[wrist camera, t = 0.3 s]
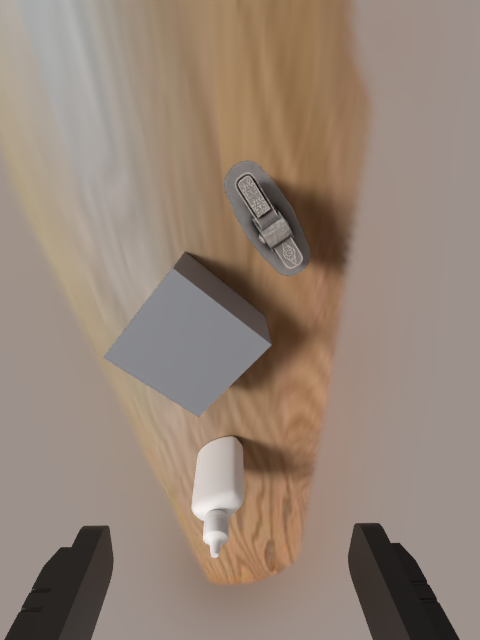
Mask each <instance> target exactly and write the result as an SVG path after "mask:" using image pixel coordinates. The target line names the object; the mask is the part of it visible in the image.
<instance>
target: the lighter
mask: <svg viewBox="0 0 480 640" xmlns="http://www.w3.org/2000/svg"><path fill="white" fill-rule="evenodd" d="M224 189H225V193H226V195H227V198H228V200H229V202H230V205H231V207H232V209H233V212H234V214H235V216H236V218H237V220H238V222H239V223H240V225H241V227H242V229H243V230H244V232H245V234H246V236H247V237H248V239H249V240H250V241H251V243H252V244H253V245H254V246H255V248H256V249H257V250H258V252H259V253H260V254H261V255H262V257H263V258H264V259H265V260H266V261H267V262H268V263H269V264H270V265H271V266H272V267H273V268H274V269H275V270H276V271H277V272H279V273H280V274H282V275H286V276H291V275H295V274H298V273H300V272H301V271H302V270H303V269H305V268H306V266H307V265H308V263H309V261H310V257H311V254H310V249H309V246H308V243H307V240H306V237H305V234H304V231H303V229H302V227H301V225H300V223H299V221H298V219H297V216H296V214H295V212H294V210H293V208H292V206H291V205H290V203H289V202H288V201H287V199H286V198H285V196H284V195H283V193H282V192H281V190H280V189H279V187H278V186H277V185H276V184H275V182H274V181H273V180H272V179H271V178H270V177H269V176H268V175H267V173H266V172H265V171H264V170H263V169H262V168H261V167H260V166H259V165H258V164H256V163H255V162H252V161H242V162H239V163H237V164H235V165H234V166H233V167H232V168H231V169H230V170H229V171H228V173H227V175H226V177H225V181H224Z"/></svg>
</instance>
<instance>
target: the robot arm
mask: <svg viewBox="0 0 480 640" xmlns="http://www.w3.org/2000/svg"><path fill="white" fill-rule="evenodd" d="M348 564H349V570H350V574H351V578H352V581H353V584H354V587H355V590H356V592H357V595H358V598H359V601H360V604H361V607H362V610H363V613H364V615H365V618H366V621H367V624H368V627H369V630H370V633H371V636H372V638H373V640H459V638H458V636H457V634H456V632H455V630H454V629H453V627H452V625H451V623H450V622H449V620H448V618H447V616H446V614H445V612H444V611H443V609H442V607H441V605H440V603H438V602H437V598H436V596H435V594H434V593H433V591H432V589H431V588H430V585H428V584H427V580H426V578H425V577H424V575H423V573H422V571H421V569H420V568H419V566H418V564H417V562H416V560H415V559H414V558H413V557H412V556H411V555H410V554H409V553H408V552H407V551H406V550H405V548H403V546H402V545H401V544H400V543H390V541H389V539H388V537H387V535H386V533H385V531H384V529H383V528H382V526H381V525H380V524H379V523H356V524H355V525H354V529H353V534H352V538H351V543H350V548H349V553H348ZM112 570H113V551H112V543H111V537H110V529H109V526H83V527H82V528H81V529H80V531H79V533H78V535H77V537H76V539H75V541H74V543H73V545H72V547H61V548H60V549H59V550H58V551H57V552H56V553H55V554H54V555H53V557H52V558H51V559H50V560H49V561H48V562H47V563H46V564H45V565H44V567H43V569H42V570H41V572H40V574H39V576H38V578H37V580H36V582H35V583H34V585H33V587H32V591H31V593H29V595H28V597H27V598H26V600H25V602H24V604H23V606H22V609H21V612H19V613H18V615H17V617H16V619H15V621H14V623H13V625H12V626H11V628H10V630H9V632H8V634H7V636H6V638H5V640H91V638H92V635H93V632H94V629H95V625H96V623H97V620H98V617H99V613H100V611H101V607H102V605H103V602H104V598H105V595H106V592H107V589H108V586H109V583H110V580H111V576H112Z"/></svg>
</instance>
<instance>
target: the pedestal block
mask: <svg viewBox="0 0 480 640" xmlns="http://www.w3.org/2000/svg"><path fill="white" fill-rule="evenodd" d="M271 345H272V343H271V339H270V335H269V330H268V326H267V322H266V318H265V315H263V314H262V313H261V312H260V311H258V310H257V309H256V308H255V307H253V306H252V305H251V304H250V303H248V302H247V301H246V300H245V299H243V298H242V297H241V296H240V295H238V294H237V293H236V292H235V291H233V290H232V289H231V288H230V287H228V286H227V285H226V284H225V283H224V282H222V281H221V280H220V279H219V278H217V277H216V276H215V275H214V274H212V273H211V272H210V271H209V270H207V269H206V268H205V267H204V266H202V265H201V264H200V263H199V262H197V261H196V260H195V259H194V258H192V257H191V256H190V255H189V254H187V253H186V252H184V254H183V255H182V256H181V258H180V259H179V260H178V261H177V263H176V264H175V265H174V267H173V268H172V269H171V270H170V272H169V273H168V274H167V276H166V277H165V278H164V279H163V281H162V282H161V283H160V285H159V286H158V287H157V288H156V290H155V291H154V292H153V294H152V295H151V296H150V297H149V299H148V300H147V301H146V303H145V304H144V305H143V306H142V308H141V309H140V310H139V312H138V313H137V314H136V315H135V317H134V318H133V319H132V320H131V322H130V323H129V324H128V326H127V327H126V328H125V330H124V331H123V332H122V334H121V335H120V336H119V337H118V339H117V340H116V341H115V343H114V344H113V345H112V347H111V348H110V349H109V351H108V352H107V353H106V355H105V356H104V357H103V358H105V359H106V360H108V361H110V362H111V363H113V364H114V365H116V366H118V367H119V368H121V369H122V370H124V371H126V372H127V373H129V374H130V375H132V376H134V377H135V378H137V379H138V380H140V381H142V382H143V383H145V384H146V385H148V386H150V387H151V388H153V389H154V390H156V391H158V392H159V393H161V394H162V395H164V396H166V397H167V398H169V399H170V400H172V401H174V402H175V403H177V404H178V405H180V406H182V407H183V408H185V409H186V410H188V411H190V412H191V413H193V414H194V415H196V416H198V417H199V416H200V415H201V414H202V413H203V412H204V411H205V410H206V409H207V408H208V407H209V406H210V405H211V404H212V403H213V402H214V401H215V400H216V399H217V398H218V397H219V396H220V395H221V394H222V393H223V392H224V391H225V390H226V389H227V388H228V387H229V386H231V385H232V384H233V383H234V382H235V381H236V380H237V379H238V378H239V377H240V376H241V375H242V374H243V373H244V372H245V371H246V370H247V369H248V368H249V367H250V366H251V365H252V364H253V363H254V362H255V361H256V360H257V359H258V358H259V357H260V356H261V355H262V354H263V353H264V352H265V351H266V350H267V349H268V348H269V347H270V346H271Z"/></svg>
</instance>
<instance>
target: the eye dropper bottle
mask: <svg viewBox="0 0 480 640" xmlns="http://www.w3.org/2000/svg"><path fill="white" fill-rule="evenodd" d="M243 501H244V468H243V447H242V445H241V443H240V442H239V441H238V439H237V438H235V437H233V436H228V437H222V438H218V439H216V440H213V441H211V442H209V443H208V444H206V445H205V446H204V447H203V448H202V449H201V450H200V451H199V454H198V459H197V467H196V474H195V482H194V489H193V497H192V511H193V513H194V514H195V515H196V516H197V517H198V518H199V519H200V520H202V521H204V530H203V540H204V542H205V543H206V544H208V545H210V552H211V557H213V558H217V557H218V556H219V552H220V547H221V545H224V544H225V543H226V542H227V541H228V539H229V517H230V516H231V515H233V514H234V513H235V512H236V511H237V510H238V509H239V508H240V506H241V505H242V503H243Z"/></svg>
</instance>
